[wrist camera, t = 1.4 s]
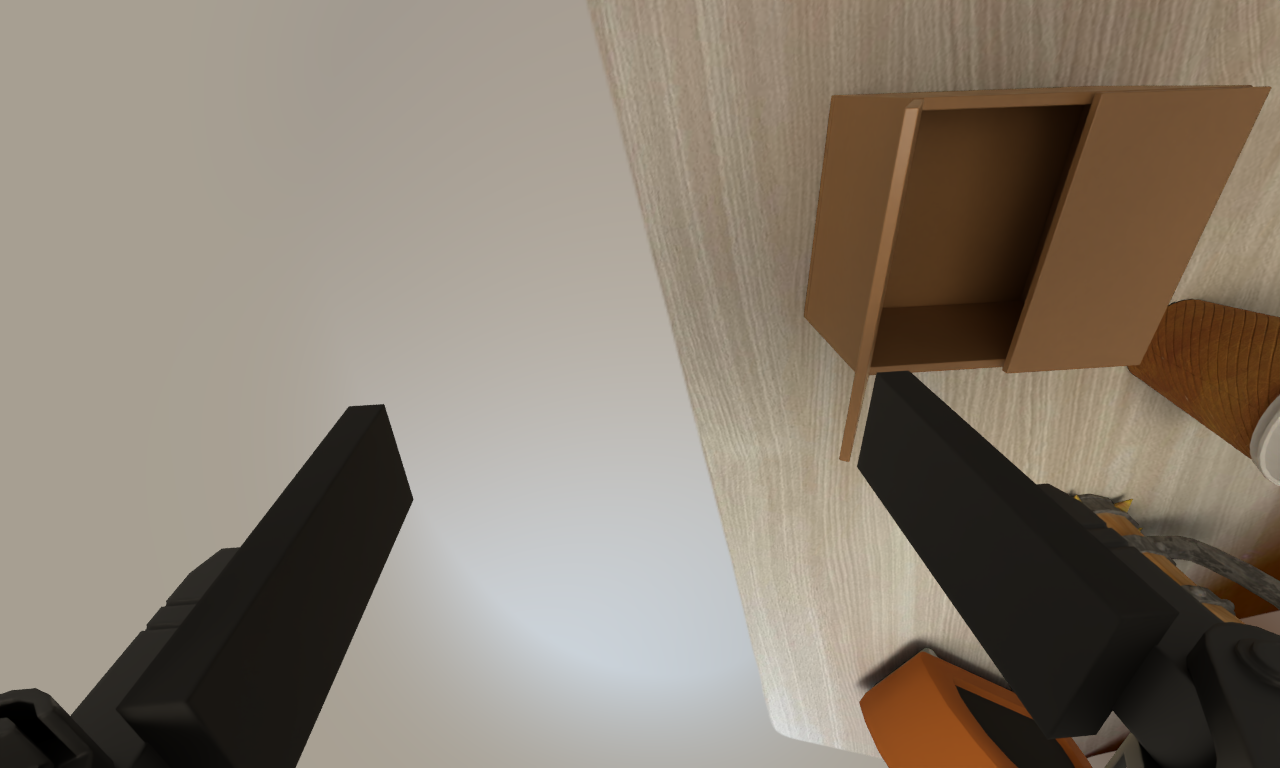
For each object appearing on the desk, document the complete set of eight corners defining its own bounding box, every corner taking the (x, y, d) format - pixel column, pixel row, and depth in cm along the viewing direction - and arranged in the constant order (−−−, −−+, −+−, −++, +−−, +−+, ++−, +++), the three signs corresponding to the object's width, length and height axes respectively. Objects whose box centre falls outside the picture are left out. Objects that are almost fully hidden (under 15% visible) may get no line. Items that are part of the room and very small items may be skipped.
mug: (991, 506, 46) (1238, 766, 28) (1200, 451, 44) (1594, 687, 27) (986, 602, 52) (1187, 864, 34) (1169, 556, 51) (1474, 803, 33)
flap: (849, 462, 22) (838, 460, 22) (867, 382, 28) (859, 380, 28) (919, 107, 16) (904, 107, 16) (924, 99, 21) (913, 99, 21)
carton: (1019, 304, 36) (1141, 365, 28) (803, 316, 36) (864, 383, 28) (1091, 86, 30) (1275, 84, 22) (831, 95, 29) (921, 97, 21)
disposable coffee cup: (1101, 312, 37) (1299, 399, 27) (1247, 253, 36) (1516, 320, 25) (1103, 415, 42) (1273, 525, 31) (1233, 366, 40) (1457, 463, 30)
